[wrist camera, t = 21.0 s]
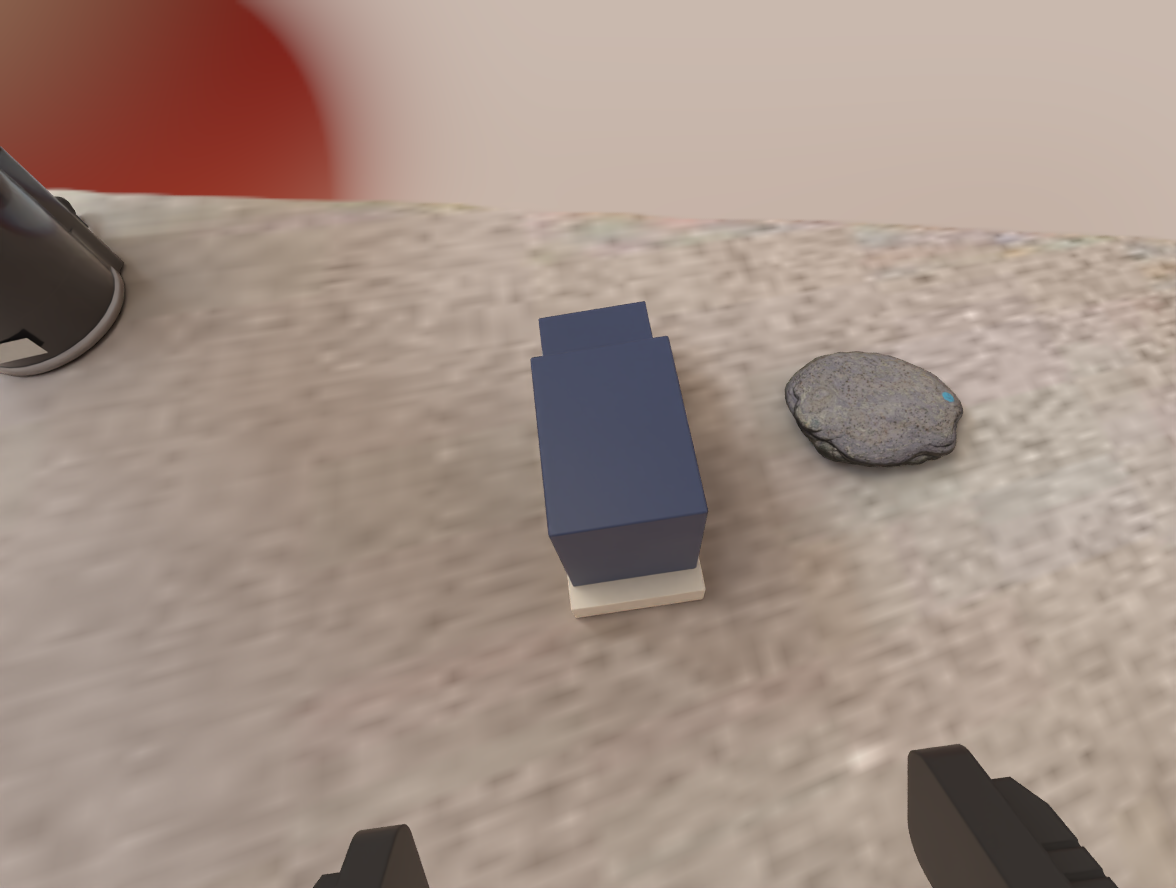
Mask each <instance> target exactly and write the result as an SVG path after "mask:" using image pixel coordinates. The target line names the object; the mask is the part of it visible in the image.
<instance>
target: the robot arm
mask: <svg viewBox="0 0 1176 888" xmlns="http://www.w3.org/2000/svg"><path fill="white" fill-rule="evenodd" d="M123 264H124V262H123V261H122V260H121V259H120V258H119V257H118V256H117V255H116V254H115V253H114V252H113V251H112V250H111V249H110V248H108V247H107V246H106V245H105V244H104V243H103V242H102V241H101V240H100V239H99V238H98V237H97V236H96V235H95V234H94V233H92V232H91V231H90V230H89V229H88V225H86V224H85V223H84V222H83V221H82V220H81V219H80V218H79V217H78V216H77V215H76V213H75V210H74V209H73V208H72V206H71V204H70V203H69V202H68V201H67V200H65V199H64V198H62V197H54V196H53V195H52V194H51V193H50V192H49V191H48V190H47V189H45V188H44V187H43V186H42V185H41V184H40V183H39V182H38V181H37V180H36V179H35V178H34V177H32V175H30V174H29V173H28V172H27V171H26V170H25V169H24V168H23V167H22V166H21V165H20V164H19V163H18V162H17V161H16V160H14V159H13V158H12V157H11V156H10V155H9V154H8V153H7V152H6V151H5V150H4V149H3V148H2V147H0V372H1V373H4V374H7V375H14V376H27V375H34V374H39V373H43V372H47V371H50V370H53V369H55V368H58V367H60V366H62V365H64V364H66V363H68V362H70V361H72V360H74V359H76V358H77V357H79V356H80V355H82V354H83V353H85V352H86V351H87V350H89V349H90V348H91V347H92V346H93V345H95V344H96V343H97V342H98V341H99V340H100V339H101V338H102V337H103V336H104V335H105V334H106V332H107V331H108V330H109V329H110V327H111V326H112V325H113V323H114V322H115V320H116V318H117V316H118V314H119V312H120V310H121V307H122V304H123V300H124V293H125V292H124V283H123V280H122V278H121V276H120V274H119V273H120V270H121V268H122V266H123ZM908 829H909V834H910V838H911V842H912V845H913V848H914V851H915V854H916V856H917V859H918V861H919V863H920V865H921V867H922V869H923V871H924V873H925V875H926V877H927V878H928V880H929V882H930V884H931V886H932V887H933V888H1118V887H1117V886H1116V885H1115V883H1114V882H1113V881H1112V880H1111V879H1110V877H1106V876H1105V875H1104V873H1103V869H1102V868H1101V867H1100V865H1099V864H1098V863H1097V862H1096V861H1095V859H1094V858H1093V857H1092V856H1091V855H1090V853H1089V852H1088V851H1087V850H1086V849H1085V847H1084V846H1083V847H1081V846H1080V845H1079V843H1078V839H1077V838H1076V837H1075V835H1074V834H1073V833H1072V832H1071V831H1070V829H1069V828H1068V827H1067V826H1066V825H1065V824H1064V822H1063V821H1062V820H1061V819H1060V818H1059V816H1058V815H1057V814H1056V813H1055V812H1054V810H1053V809H1052V808H1051V807H1050V806H1049V804H1047V803H1046V802H1045V801H1043V800H1042V799H1040V798H1039V797H1038V796H1036V795H1035V794H1033V793H1032V792H1031V791H1029V790H1028V789H1026V788H1025V787H1024V786H1022V785H1021V784H1019V783H1018V782H1017V781H1015V780H1014V779H1012V778H1011V777H1005V778H998V779H990V777H989V776H988V775H987V773H986V772H985V771H984V769H983V768H982V767H981V766H980V764H979V763H978V762H977V760H976V759H975V758H974V756H973V755H972V754H971V753H970V752H969V750H968V749H966V748H965V747H964V746H963V745H960V744H955V745H948V746H940V747H933V748H926V749H919V750H912V751H910V753H909V755H908ZM313 888H429V885H428V882H427V879H426V876H425V873H424V870H423V867H422V864H421V861H420V858H419V855H418V852H417V848H416V845H415V842H414V839H413V836H412V833H411V831H410V828H409V827H408V826H407V825H406V824H402V825H395V826H388V827H381V828H374V829H367V830H360V831H358V832H357V833H356V834H355V835H354V837H353V839H352V841H351V843H350V846H349V849H348V851H347V854H346V857H345V860H344V862H343V865H342V868H341V871H340V872H339V873H332V874H325V875H322V876H321V877H320V879H319V880H318V881H317V883H316V884H315V885H314V887H313Z"/></svg>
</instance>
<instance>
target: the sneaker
mask: <svg viewBox="0 0 1176 888" xmlns="http://www.w3.org/2000/svg"><path fill="white" fill-rule="evenodd" d="M539 327H540V336H541V345H542V356H539V357H533V358H531V370H532V380H533V389H534V399H535V409H536V419H537V428H538V438H539V448H540V457H541V467H542V477H543V486H544V496H545V506H546V515H547V525H548V535H549V537H550V539H551V541H552V543H553V546H554V548H555V550H556V552H557V554H558V556H559V558H560V560H561V562H562V564H563V566H564V568H565V571H566V573H567V579H568V588H569V596H570V605H571V610H572V612H573V614H574V616H575V617H576V618H580V617H587V616H594V615H600V614H607V613H614V612H620V611H627V610H634V609H640V608H647V607H654V606H660V605H667V604H674V603H680V602H687V601H694V600H700V599H703V597H704V594H705V590H706V588H705V583H704V579H703V574H702V569H701V565H700V560H699V552H700V547H701V542H702V538H703V533H704V528H705V523H706V518H707V514H708V508H707V504H706V499H705V495H704V490H703V486H702V482H701V477H700V473H699V469H698V464H697V460H696V455H695V451H694V447H693V442H692V438H691V433H690V429H689V425H688V420H687V416H686V412H685V407H684V403H683V398H682V394H681V390H680V385H679V381H678V376H677V372H676V368H675V363H674V359H673V355H672V350H671V346H670V341H669V338H668V336H663V337H656V338H653V337H652V332H651V327H650V323H649V318H648V313H647V309H646V304H645V301H643V302H637V303H631V304H624V305H618V306H612V307H606V308H600V309H594V310H588V311H582V312H576V313H570V314H563V315H557V316H551V317H545V318H539Z"/></svg>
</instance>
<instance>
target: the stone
mask: <svg viewBox="0 0 1176 888" xmlns="http://www.w3.org/2000/svg"><path fill="white" fill-rule="evenodd" d="M785 399H786V402H787V405H788V407H789V409H790V411H791V413H792V414H793V416H794V418H795V419H796V422H797V424H798V426H799V427H800V429H801V431H802V432H803V433H804V434H805V435H806V436H807V437H808V438H809V440H810V441H811V442H812V443H813V444H814V446H815V448H816V449H817V451H818V452H819V453H820V454H821V455H822V456H824V457H826V458H828V459H830V460H833V461H839V462H847V463H851V464H858V465H864V466H869V467H872V466H875V467H876V466H883V467H892V466H900V465H907V464H908V465H914V464H921V463H923V462H925V461H927V460H936V459H938V458H940V457H941V456H944V455H947V454H949V453H950V452H952V451H953V449H954V448H955V445H956V428H957V425H956V424H957V423H958V421H959V419H960V418H961V416H962V414H963V408H962V405H961V402H960V400H959V399H958V398H957V397H956V395H955V394H954V393H953V392H952V391H951V390H950V389H949V388H948V387H947V386H946V385H945V384H944V383H943V382H942V381H941V380H940V379H939V378H938V377H937V376H935V375H934V374H932V373H931V372H928V371H926V370H924V369H922V368H920V367H917V366H915V365H913V364H910V363H908V362H905V361H903V360H900V359H898V358H895V357H892V356H885V355H882V354H879V353H864V352H857V351H855V352H847V353H846V352H838V353H834V354H830V355H824V356H821V357H818V358H815V359H814V360H812V361H811V362H809V363H808V364H807V365H805V366H804V367H803V368H802V369H800V370H799V371H798V372H796V373H795V374H794V375H793V377H792V378H791V379H790V381H789V382H788V383H787V385H786V388H785Z"/></svg>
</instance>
